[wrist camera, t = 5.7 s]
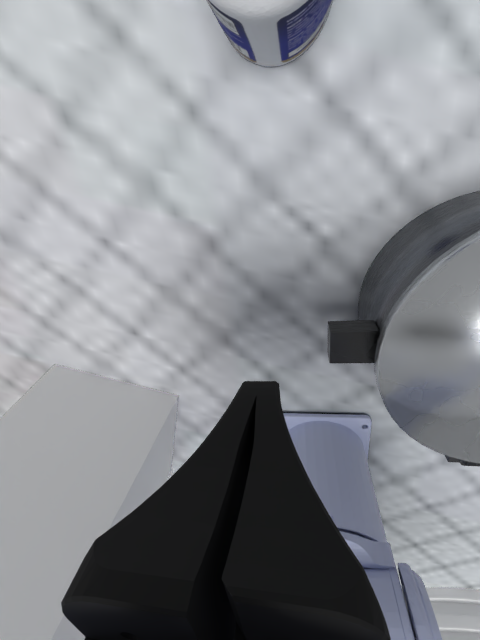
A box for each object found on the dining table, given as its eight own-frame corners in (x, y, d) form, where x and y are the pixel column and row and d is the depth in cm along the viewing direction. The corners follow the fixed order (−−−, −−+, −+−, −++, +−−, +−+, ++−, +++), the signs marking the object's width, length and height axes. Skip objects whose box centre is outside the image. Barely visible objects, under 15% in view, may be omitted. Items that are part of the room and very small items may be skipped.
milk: (178, 395, 27) (-413, 1631, 4) (171, 469, 33) (-100, 1166, 10) (55, 364, 27) (-1042, 1315, 5) (68, 442, 33) (-405, 1045, 11)
